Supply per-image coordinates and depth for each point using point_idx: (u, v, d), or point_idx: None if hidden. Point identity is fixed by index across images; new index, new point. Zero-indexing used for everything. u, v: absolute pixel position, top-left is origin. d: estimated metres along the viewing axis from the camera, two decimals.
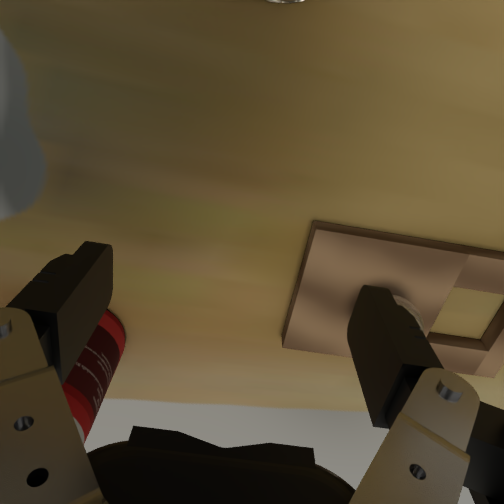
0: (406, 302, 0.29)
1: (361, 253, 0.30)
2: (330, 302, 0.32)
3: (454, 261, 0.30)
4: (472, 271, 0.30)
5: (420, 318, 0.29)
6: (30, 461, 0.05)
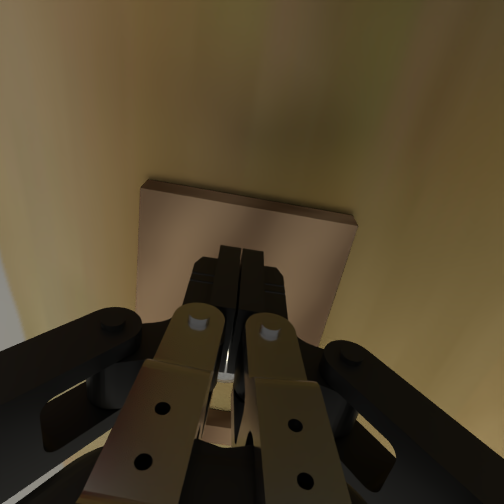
0: None
1: (315, 281, 0.23)
2: None
3: None
4: None
5: None
6: (147, 444, 0.06)
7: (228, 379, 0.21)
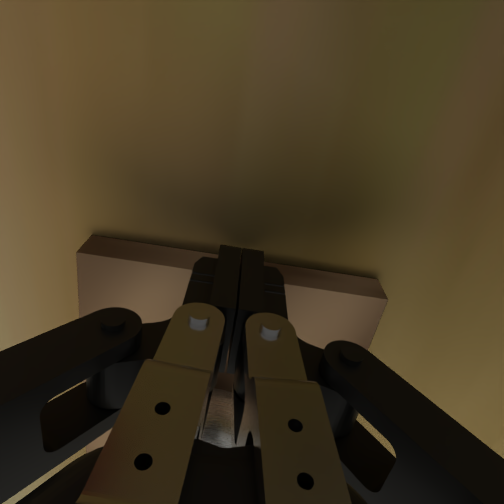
0: None
1: None
2: None
3: None
4: None
5: None
6: (147, 444, 0.06)
7: None
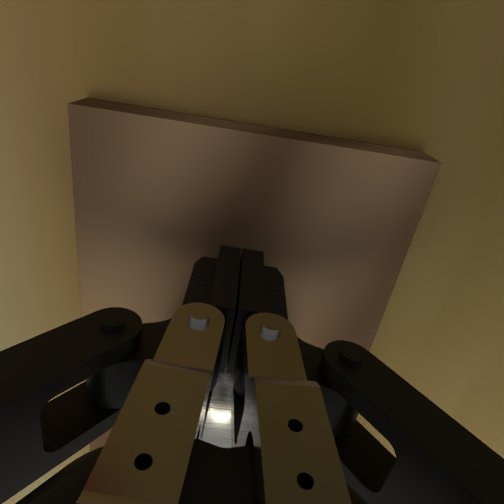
0: None
1: (365, 260, 0.14)
2: (237, 214, 0.14)
3: None
4: None
5: None
6: (147, 444, 0.06)
7: None
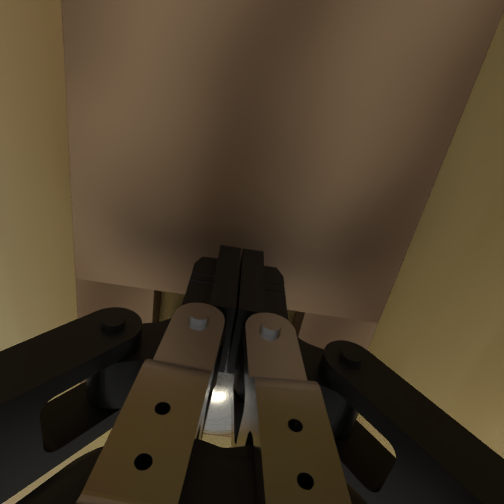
0: None
1: (417, 108, 0.12)
2: (264, 37, 0.11)
3: (365, 302, 0.15)
4: (338, 334, 0.16)
5: None
6: (147, 444, 0.06)
7: None
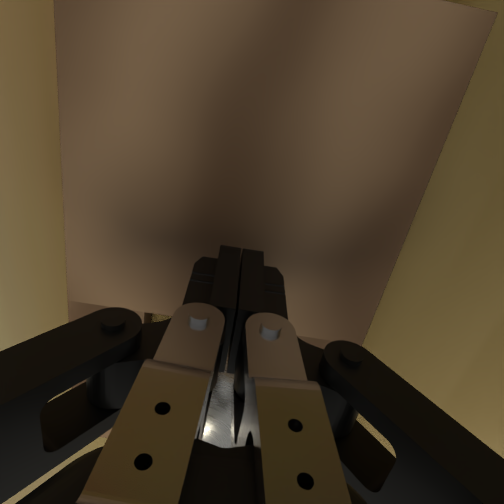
0: None
1: (398, 145, 0.12)
2: (251, 78, 0.12)
3: (349, 326, 0.16)
4: None
5: None
6: (147, 444, 0.06)
7: None
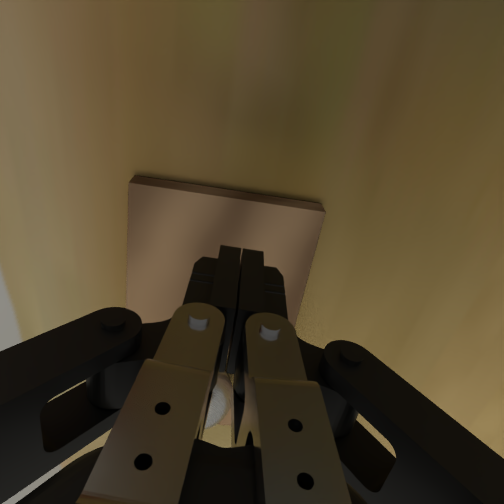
0: None
1: (290, 263, 0.26)
2: (218, 239, 0.25)
3: None
4: None
5: (226, 376, 0.29)
6: (147, 444, 0.06)
7: None
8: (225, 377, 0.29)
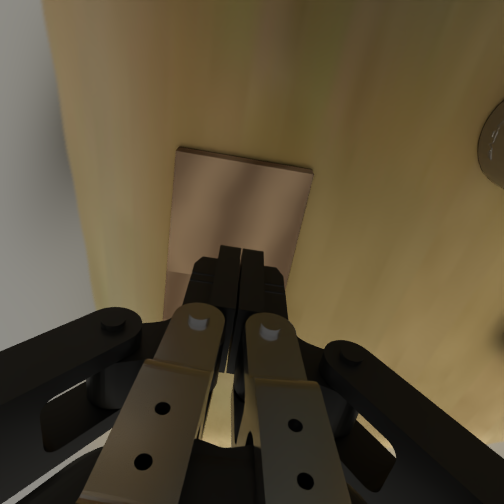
0: None
1: (288, 213, 0.36)
2: (236, 193, 0.35)
3: None
4: None
5: None
6: (147, 444, 0.06)
7: None
8: None
